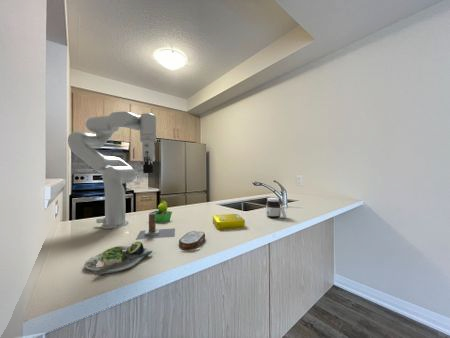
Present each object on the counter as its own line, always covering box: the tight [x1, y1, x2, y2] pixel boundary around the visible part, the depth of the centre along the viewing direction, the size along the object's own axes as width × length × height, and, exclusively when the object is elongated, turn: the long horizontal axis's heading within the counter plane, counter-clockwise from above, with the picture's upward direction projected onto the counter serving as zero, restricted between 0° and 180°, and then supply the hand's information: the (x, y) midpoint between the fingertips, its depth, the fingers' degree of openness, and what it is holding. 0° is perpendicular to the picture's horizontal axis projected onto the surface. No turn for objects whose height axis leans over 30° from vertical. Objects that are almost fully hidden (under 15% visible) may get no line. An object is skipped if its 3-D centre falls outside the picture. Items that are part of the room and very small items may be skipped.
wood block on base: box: [145, 212, 161, 236], centre depth 91 cm, size 6×5×9 cm
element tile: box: [212, 213, 246, 231], centre depth 107 cm, size 15×15×5 cm
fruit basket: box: [150, 200, 173, 223], centre depth 114 cm, size 11×9×11 cm
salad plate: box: [83, 241, 154, 276], centre depth 65 cm, size 19×18×5 cm
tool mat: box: [135, 227, 176, 241], centre depth 91 cm, size 16×12×1 cm
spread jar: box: [265, 197, 287, 219], centre depth 123 cm, size 12×11×12 cm
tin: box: [178, 230, 206, 251], centre depth 82 cm, size 15×3×8 cm
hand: (148, 172), depth 99 cm, fingers open, 9 cm apart
